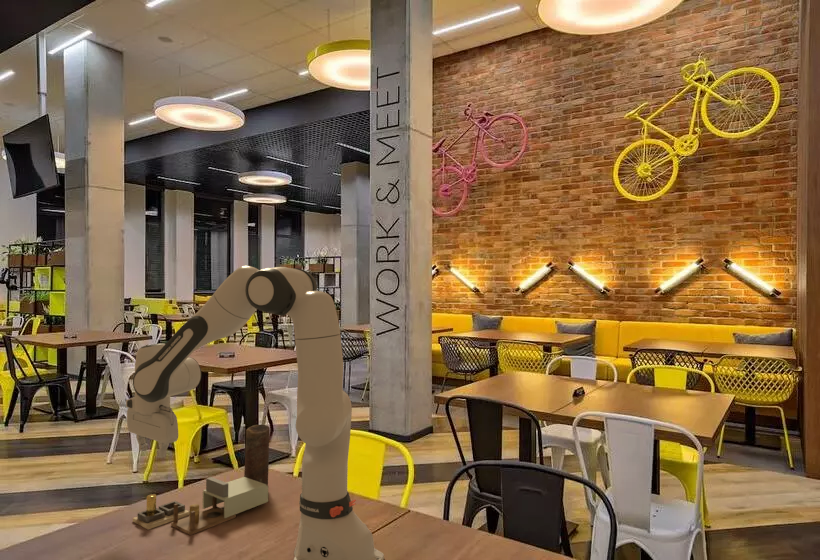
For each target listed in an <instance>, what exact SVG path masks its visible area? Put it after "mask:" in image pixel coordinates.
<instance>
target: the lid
mask: <svg viewBox="0 0 820 560" xmlns="http://www.w3.org/2000/svg"><path fill="white" fill-rule="evenodd" d="M205 480H206V481H205V485H206V486H205V489H203V490H202V509H204V510H205V509H208V508H211V507H213V496H214V497H216V498H217V505H218V504H219V505H220V504H222V503H223V509H224V518H227V517H230V516H232V515H235V514H236V515H238V514H240V513H242V512H245V511H248V510H250V509H252V508H255V507H257V506H260V505H263V504H266V503H268V502H269V485H268V486H267V485H266V484H264V483H261V482H258V481H255V480H252V479H249V478H246V477H244V476H242V477H239V478H237V479H233V480H230V481H223V480H221V479H218V478H215V477H212V476H211V477H207V478H206V479H205Z"/></svg>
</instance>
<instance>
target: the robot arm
mask: <svg viewBox="0 0 820 560" xmlns="http://www.w3.org/2000/svg"><path fill="white" fill-rule="evenodd" d="M317 285H318V284H317V281H316V279H315V277H314V276H313V275H312V274H311V273H310V272H309V271H307V270H305V269H302V268H297V267H296V268H295V267H294V268H293V267H287V266H275V267H265V268H262V269H258V268H257V267H254V266H251V265H241V266H239V267H238V268H236V269H235V270H234V271H233V272H232V273H230V274H229V275H228V277H226V278H225V279H224V280H223V282H222V283H221V284H220V285H219V286H218V288H216V290H215V291H214V292H213V294H212V295H211V296H210V297H209V299H208V300H206V302H205V303H204V304H203V306H201V308H200V309H199V310H198V311H197V312H196V313H195V314H193V316H192V317H191V318H189V319H188V320H187V321H186V322H185V323H184V324H183V325H182V326H180V328H179V329H178V330H177V331H175V333H174V334H173V335H172V336H171V337H170V339H168V341H167V342H166V343H163V342H162V343H161V342H160V343H154V344H148V345H143V346H141V347H139V348H138V350H137V352H136V356H135V363H134V374H133V378H132V387H133V390H134V396H133V397H130V398H127V399H126V400H125V407H126V408H127V409H126V423H127V425H126V426H127V429H128V433H131V434H134V435H136V438H135V439H136V441H137V444H138V451H141V452H145V451H148V447H149V444H148V443H147V439H150V440H153V441H156V442H158V446H159V449H158V450H156V453H157V454H156V456H157V458H160V459H164V458H166V457H167V450H168V447H169V445H170V444H172V443H176V442H177V441H178V440H179V426H178V425H179V424H178V417H177V415H176V413H175V412H174V410H173V408H172V407H171V397H173V396H177V395H180V394H184V393H187V392H188V393H189V392H190V391H192V390H194V389H196V388H198V386H199V384H200V382H201V380H202V368H201V366H200V364H199V363H198V361H197V360H196V359H195V358H193V357H191V356H192V354H193V353H194V352H195V351H197V350H198V349H200V348H201V347H203V346H206V345H207V344H210V343H212V342H214V341H218V340H222V339H224V338H228V337H230V336H233V335H234V334H236V333H237V332H238V331H239V330H241V329H242V328H243V327H244V326H245V325H246V324H247V323H248V322H249V320H250V319H251V318H252V316H253V315H254V314H255V312H256V311H261V312H264V313H268V314H272V315H277V316H280V317H282V316H285V315H288V316H289V318H290V319H291V321H292V323H293V330H294V343H295V351H296V352H295V353H296V364H297V365H296V366H297V386H296V387H297V388H296V389H297V390H296V421H295V431H296V434H297V437H298V438H299V439H300V440H301V441H302V442H303V443H304V444H305V446H304V453H303V457H302V464H301V493H300V495H299V511H300V519H299V524H298V525H299V526H298V531H297V539H296V543H295V549H294V551H293V555H294V558H293V560H384V559H385V555H384V553H383V552H382V551H380V550H378V549H377V548H375V541H374V535H373V532H371V530H370V529H369V527H368V526H367V524H366V523H365V522H363V521H362V520H361V518H360V517H359V516H358V515H357V514H356V512H355V511H354V510H353V508H354V507H353V506H355V505H357V504H356V501H357V500H356V499H353V500H351V497H350V493H349V491H348V473H349V472H348V468H349V467H348V466H349V465H348V463H349V451H350V443H351V442H350V440H351V430H352V429H351V428H352V409H353V408H352V407H353V406H352V401H351V398H350V396H349V394H348V393H347V392H346V391H345V390H344V389H343V386H344V385H343V384H344V383H343V380H344V379H343V378H344V377H343V375H344V360H343V359H344V357H343V347H342V338H341V330H340V329H341V327H340V324H339V323H340V322H339V317H338V313H337V309H336V306H335V305H336V304H335V302H334V299H333V298H332V296H331V295H330V294H329V293H327V292H326V291H325V292H324V291H320V290H318V287H317Z"/></svg>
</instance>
